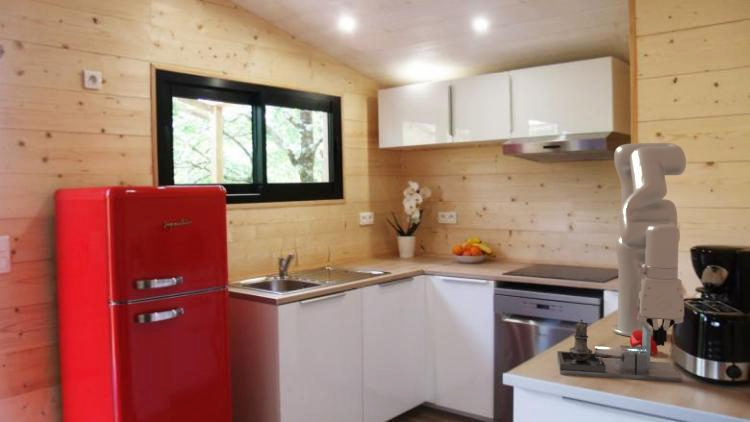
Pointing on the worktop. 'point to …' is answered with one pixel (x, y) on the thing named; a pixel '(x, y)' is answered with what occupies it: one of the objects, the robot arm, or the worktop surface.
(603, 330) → the worktop surface
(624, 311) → the robot arm
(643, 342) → the shaft
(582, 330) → the salt shaker
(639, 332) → the cap
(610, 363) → the jig
